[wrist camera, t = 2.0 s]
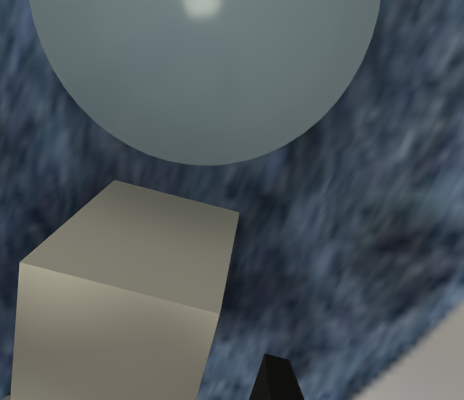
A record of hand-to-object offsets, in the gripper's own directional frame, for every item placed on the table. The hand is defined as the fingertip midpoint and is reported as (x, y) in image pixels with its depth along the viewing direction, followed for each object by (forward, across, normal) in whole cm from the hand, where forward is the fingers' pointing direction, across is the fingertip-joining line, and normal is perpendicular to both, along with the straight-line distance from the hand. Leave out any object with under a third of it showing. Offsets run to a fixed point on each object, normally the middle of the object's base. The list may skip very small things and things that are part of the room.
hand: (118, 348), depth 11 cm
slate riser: (+6, 0, -8) cm, 10 cm away
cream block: (+5, 0, 0) cm, 5 cm away
